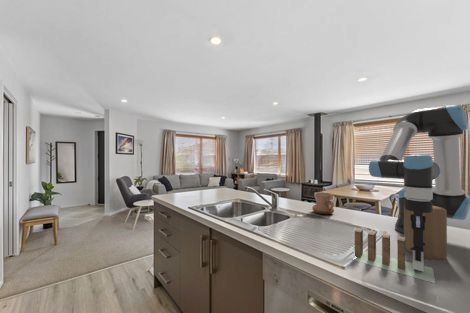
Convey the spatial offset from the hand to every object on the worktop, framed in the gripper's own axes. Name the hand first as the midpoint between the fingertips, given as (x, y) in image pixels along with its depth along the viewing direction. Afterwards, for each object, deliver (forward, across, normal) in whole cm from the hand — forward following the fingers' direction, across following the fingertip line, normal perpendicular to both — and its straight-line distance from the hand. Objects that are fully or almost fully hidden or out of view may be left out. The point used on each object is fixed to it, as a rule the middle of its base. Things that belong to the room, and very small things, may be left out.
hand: (418, 266), depth 73 cm
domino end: (+2, 0, -18) cm, 18 cm away
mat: (+2, 0, -9) cm, 9 cm away
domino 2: (+2, 0, -9) cm, 9 cm away
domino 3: (+2, 0, -4) cm, 5 cm away
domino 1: (+2, 0, -14) cm, 14 cm away
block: (+2, -20, +2) cm, 20 cm away
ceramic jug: (+2, -60, -51) cm, 79 cm away
